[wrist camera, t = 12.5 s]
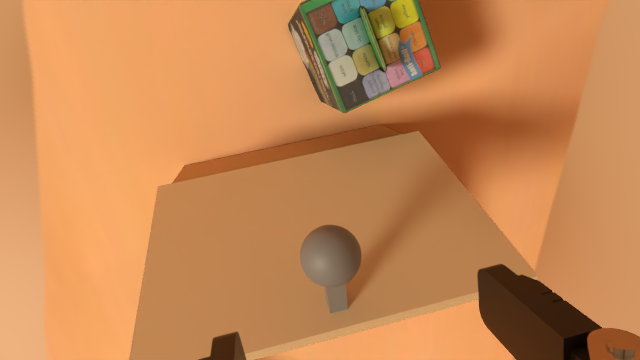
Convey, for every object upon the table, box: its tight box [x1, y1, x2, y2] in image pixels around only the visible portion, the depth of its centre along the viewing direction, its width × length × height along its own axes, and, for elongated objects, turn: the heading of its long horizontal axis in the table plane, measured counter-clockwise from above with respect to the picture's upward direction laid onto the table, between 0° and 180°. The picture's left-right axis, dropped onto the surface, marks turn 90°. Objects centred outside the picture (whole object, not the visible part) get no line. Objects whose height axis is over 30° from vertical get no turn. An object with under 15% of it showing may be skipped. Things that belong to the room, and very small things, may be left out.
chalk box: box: [288, 0, 441, 113], centre depth 34 cm, size 9×9×15 cm
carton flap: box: [129, 131, 538, 360], centre depth 25 cm, size 16×22×6 cm
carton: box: [173, 125, 401, 183], centre depth 40 cm, size 16×22×10 cm
